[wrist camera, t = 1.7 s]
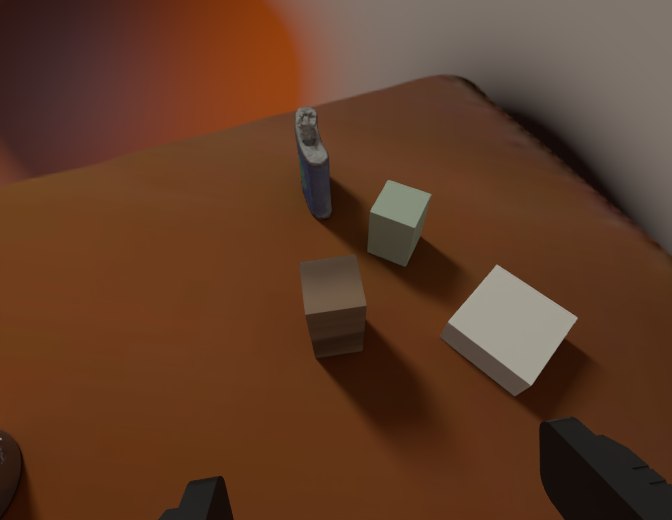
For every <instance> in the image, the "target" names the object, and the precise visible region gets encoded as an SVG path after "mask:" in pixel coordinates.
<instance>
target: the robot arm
mask: <svg viewBox="0 0 672 520" xmlns="http://www.w3.org/2000/svg"><path fill="white" fill-rule="evenodd" d="M539 438H540V475H541V480H542V483H543V486H544V489H545V491H546V493H547V495H548V497H549V499H550V500H551V502H552V503H553V505H554V506H555V507H556V509H557V510H558V511H559V513H560V514H561V515H562V517H563V518H564V519H565V520H672V485H671V484H667V482H666V480H665V479H664V478H663V477H662V476H660V475H659V474H658V473H657V472H656V471H654V470H653V469H650V468H649V466H648V465H647V464H646V463H645V462H644V461H643V460H641V459H640V458H639V457H638V456H637V455H636V454H634V453H633V452H632V451H631V450H630V449H629V448H627V447H625V446H623V445H621V444H619V443H617V442H616V441H614V440H612V439H610V438H608V437H606V436H604V435H598V436H596V435H595V434H593V433H592V432H591V431H590V430H589V429H588V428H587V427H586V426H585V425H583V424H582V423H581V422H580V421H579V420H578V419H576V418H574V417H567V418H561V419H555V420H549V421H543V422H542V423H541V424H540V428H539ZM20 472H21V456H20V451H19V448H18V446H17V443H16V442H15V441H14V439H13V438H12V437H11V436H10V435H9V434H7V433H5V432H4V431H2V430H0V517H1V516H2V514H3V513H4V511H5V510H6V508H7V507H8V505H9V503H10V501H11V499H12V497H13V495H14V493H15V491H16V488H17V485H18V481H19V478H20ZM158 520H234V519H233V515H232V511H231V506H230V502H229V498H228V494H227V489H226V485H225V481H224V479H223V477H222V476H217V477H211V478H206V479H200V480H194V481H190V482H189V483H188V485H187V487H186V489H185V492H184V494H183V497H182V500H181V502H180V505H179V508H174V509H168V510H166V511H165V512H164V513H163V514H162V516H161V517H160V518H159V519H158Z"/></svg>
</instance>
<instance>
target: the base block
mask: <svg viewBox="0 0 672 520" xmlns="http://www.w3.org/2000/svg"><path fill="white" fill-rule="evenodd" d="M577 318H578V317H576V316H574V315H573V314H571V313H570V312H568V311H567V310H565V309H564V308H562V307H561V306H559V305H558V304H556V303H555V302H553V301H552V300H550V299H549V298H547V297H545V296H544V295H542V294H541V293H539V292H538V291H536V290H535V289H533V288H532V287H530V286H529V285H527V284H526V283H524V282H523V281H521V280H519V279H518V278H516V277H515V276H513V275H512V274H510V273H509V272H507V271H506V270H504V269H503V268H501V267H500V266H498V265H496V267H495V268H494V269H493V270H492V271H491V272H490V274H489V275H488V276H487V277H486V278H485V279H484V281H483V282H482V283H481V284H480V285H479V286H478V288H477V289H476V290H475V291H474V292H473V293H472V295H471V296H470V297H469V298H468V299H467V300H466V301H465V303H464V304H463V305H462V306H461V307H460V308H459V310H458V311H457V312H456V313H455V314H454V315H453V317H452V318H451V319H450V320H449V321H448V323H447V325H446V326H445V328H444V330H443V332H442V334H441V336H440V338H441V339H442V340H444V341H445V342H446V343H448V344H449V345H450V346H451V347H453V348H454V349H455V350H456V351H458V352H459V353H460V354H461V355H463V356H464V357H465V358H467V359H468V360H469V361H470V362H472V363H473V364H474V365H475V366H477V367H478V368H479V369H480V370H482V371H483V372H484V373H486V374H487V375H488V376H489V377H491V378H492V379H493V380H494V381H496V382H497V383H498V384H499V385H501V386H502V387H503V388H505V389H506V390H507V391H508V392H510V393H511V394H512V395H513V396H516V395H518V394H519V393H521V392H522V391H524V390H525V389H527V388H529V387H530V386H531V385H532V384H533V383H534V381H535V380H536V378H537V377H538V375H539V374H540V372H541V371H542V369H543V368H544V366H545V365H546V364H547V362H548V361H549V359H550V358H551V356H552V355H553V353H554V352H555V350H556V349H557V347H558V346H559V345H560V343H561V342H562V340H563V339H564V337H565V336H566V334H567V333H568V331H569V330H570V328H571V327H572V326H573V324H574V323H575V321H576V320H577Z"/></svg>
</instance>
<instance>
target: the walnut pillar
mask: <svg viewBox="0 0 672 520" xmlns="http://www.w3.org/2000/svg"><path fill="white" fill-rule="evenodd" d="M299 264H300V273H301V282H302V290H303V299H304V308H305V316H306V320H307V324H308V328H309V332H310V337H311V341H312V345H313V349H314V354H315V358H322V357H328V356H335V355H341V354H347V353H354V352H360V351H363V343H364V331H365V319H366V307H367V305H366V300H365V295H364V291H363V286H362V281H361V276H360V271H359V267H358V262H357V257H356V255H348V256H341V257H334V258H327V259H320V260H313V261H306V262H299Z"/></svg>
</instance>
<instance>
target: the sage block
mask: <svg viewBox="0 0 672 520" xmlns="http://www.w3.org/2000/svg"><path fill="white" fill-rule="evenodd" d="M430 198H431V194H429V193H426V192H423V191H420V190H417V189H414V188H411V187H408V186H405V185H402V184H399V183H396V182H393V181H390V180H388V181H387V183H386V185H385V186H384V188H383V190H382V192H381V193H380V195H379V197H378V199H377V200H376V202H375V204H374V206H373V207H372V209H371V211H370V219H369V234H368V249H367V252H368V253H371V254H373V255H376V256H379V257H381V258H384V259H386V260H389V261H391V262H394V263H396V264H399V265H401V266H404V267H406V266H407V264H408V261H409V259H410V257H411V255H412V253H413V251H414V249H415V247H416V244H417V242H418V240H419V238H420V236H421V232H422V228H423V224H424V220H425V217H426V213H427V209H428V205H429V201H430Z"/></svg>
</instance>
